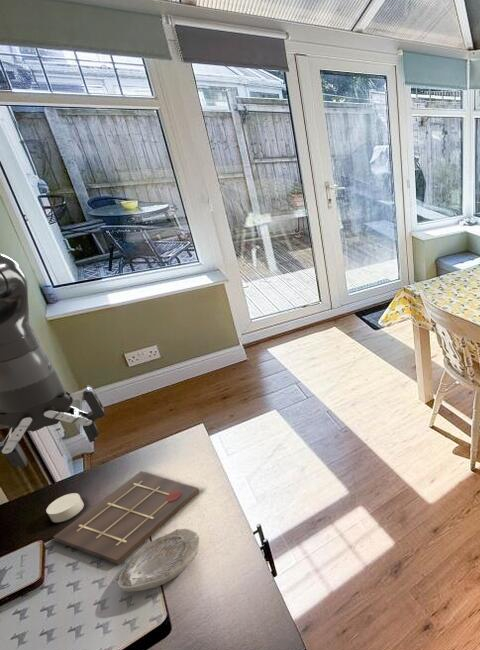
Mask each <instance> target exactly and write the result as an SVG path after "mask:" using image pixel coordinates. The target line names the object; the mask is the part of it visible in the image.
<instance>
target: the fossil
mask: <svg viewBox="0 0 480 650" xmlns="http://www.w3.org/2000/svg"><path fill="white" fill-rule="evenodd" d="M199 545H200V536H199V534H198V533H197V532H196V531H194V530H191V529H190V528H176V529H174V530H173V531H171V532H169V533H167V534H165V535H162V536H159V537H157V538H156V539H153V540H151V541H149V542H148V543H146V544H144V545H143V546H142V547H141V548H139V550H138V551H137V552H136V553H134V554H133V556H132V557H131V558H130V560H129V561H128V563H127V564H126V565H125V567H124V568H123V570H122V571H121V572H120V574H119V577H118V581H117V584H118V587H119V588H120V589H121V590H122V591H124V592H141V591H145V590H150V589H153V588H157V587H160V586H161V585H162V586H163V585H165V584H166V583H168V582H169V581H171V580H173V579H174V578H175V577H178V575H180V573H182V572H183V571H184V569H186V568H187V567H188V566H189V565H190V564H191V563H192V562H193V561H194V559H195V558H196V557H197V555H198V551H199Z"/></svg>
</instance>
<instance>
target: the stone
mask: <svg viewBox="0 0 480 650" xmlns="http://www.w3.org/2000/svg"><path fill="white" fill-rule="evenodd" d="M84 506H85V503H84V501H83V499H82V497H81V495H80V493H76V492H73V493H72V492H71V493H67V494H64V495H62V496H60V497H58V498H56V499H55V500H54V501H51V503H50V504H48V506H47V508H46V510H45V511H46V514H47V515H48V517H49V519H50V521H51V522H52V523H61V522H65V521H69V520H70V519H72V518H74V517H75V516H77V515H78V514H79V513H81V511H82V510H83V509H84Z"/></svg>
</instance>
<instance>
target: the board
mask: <svg viewBox="0 0 480 650" xmlns="http://www.w3.org/2000/svg"><path fill="white" fill-rule="evenodd" d="M199 493H200V489H199V488H198V487H195V486H192V485H189V484H186V483H182V482H179V481H176V480H172V479H170V478H166V477H162V476H159V475H156V474H153V473H149V472H145V471H143V470H141V471H139V472H138V473H137V474H135V475H134V476H133V477H131V478H130V479H129V480H126V482H125V483H123V484H122V485H120V486H119V487H118V488H116V489H115V490H114V491H112V492H111V493H110V494H108V495H107V496H106V497H104V498H103V499H101V501H99V502H98V503H96V504H95V505H94V506H92V507H91V508H89V509H88V510H87V511H86V512H85V513H83V514H81V516H78V517H77V518H76V519H75V520H74V521H72V522H71V523H70V524H67V526H66V527H64V528H63V529H61V530H60V531H59V532H58V533H56V534H55V535H54V536H53V539H54V541H55V542H57V543H60V544H62V545H66V546H69V547H70V548H74V549H76V550H79V551H82V552H84V553H86V554H90V555H92V556H95V557H97V558H100V559H103V560H106V561H109V562H111V563H114V564H117V565H121V563H123V561H125V560H126V559H127V558H128V557H129V556H130V555H131V554H133V553H134V552H135V551H136V550H137V549H138V548H139V547H140V546H141V545H142V544H144V543H145V542H146V541H147V540H148V539H150V538H151V536H152V535H154V534H155V533H156V532H157V531H158V530H160V528H161V527H162V526H164V525H165V524H166V523H167V522H168V521H169V520H170V519H171V518H172V517H174V516H175V515H176V514H177V513H178V512H179V511H181V509H183V508H184V507H185V506H186V505H187V504H188V503H189V502H190V501H191V500H193V499H194V498H195V497H196V496H197V495H198V494H199Z"/></svg>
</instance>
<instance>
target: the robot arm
mask: <svg viewBox="0 0 480 650" xmlns="http://www.w3.org/2000/svg"><path fill="white" fill-rule="evenodd" d="M28 285H29V284H28V280H27V276H26V274H25V272H24V270H23V269H22V267H21V266H20V265H19V264H18V263H17V262H16V261H15V260H13V259H12V258H10V257H9V256H7V255H5V254H3V253H0V425H1V426H5V427H8V428H10V429H9V432H8V433H7V435H6V437H5V439H4V440H2V441H0V454H3V455H5V457H6V458H7V461H8V462H9V463H10V465H11V466H12V467H14V468H17V467H18V468H19V469H22V468H25V467H27V466H28V459H27V457H26V455H25V453H24V451H23V449H22V447H21V446H20V444H19V442H20V441H21V439H22V438H23V436H24V434H25V433H26V432H31V433H33V432H36V431H39V430H41V429H43V428H45V427H50V426H55V425H57V424H58V425H59V422H61V421H62V422H65V423H69V424H77V425H81V426H82V429H83V431H84V433H85V435H86V437H87V440H88V442H89V443H92V442H95V441H96V438H98V437H99V428H98V426H97V425H96V422H95V421H96V420H98V419H101V418H102V419H103V418H104V417H105V416H106V415H105V408H104V405H103V403H102V402H101V400H100V398H99V397H98V395H97V393H96V391H95V389H94V387H93V386H92V385H91V384H90V385H89V384H87V385H84V386H83V387H82V389H79V390H78V391H74V392H71V393H70V392H68V391H67V390H66V389H65V388H64V385H63V383H62V381H61V379H60V378H59V375H58V373H57V371H56V369H55V367H54V364H53V362H52V360H51V357H49V354H48V353H47V351H46V349H44V348H43V346H42V345H41V343H40V340H39V338H38V336H37V334H36V332H35V330H34V328H33V326H32V324H31V322H30V303H29V286H28ZM75 400H76V401H79V402H80V403H86V404H87V405H88V407H89V408H90V410H91V411H89V412H88V411H84V410H81V409H79V408H78V407H76V406H73V405H72V404H73V402H74V401H75Z"/></svg>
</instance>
